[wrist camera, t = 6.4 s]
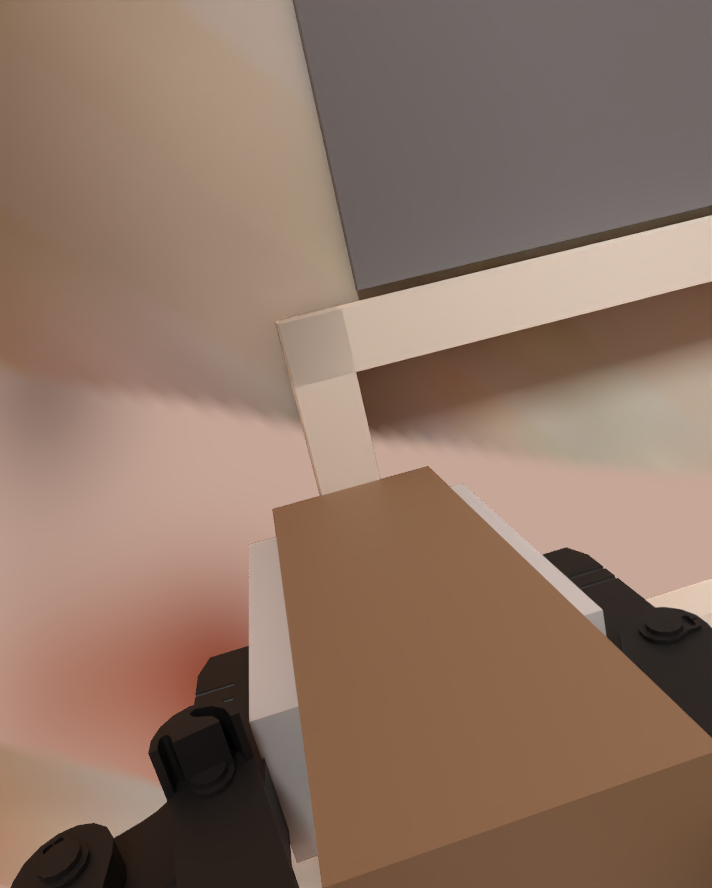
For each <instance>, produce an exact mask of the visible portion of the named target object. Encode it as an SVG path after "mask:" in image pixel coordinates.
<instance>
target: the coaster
mask: <svg viewBox="0 0 712 888" xmlns="http://www.w3.org/2000/svg"><path fill="white" fill-rule="evenodd" d="M293 4H294V9H295V13H296V18H297V22H298V27H299V31H300V36H301V41H302V45H303V50H304V54H305V59H306V63H307V68H308V72H309V77H310V82H311V86H312V91H313V95H314V100H315V104H316V109H317V113H318V118H319V123H320V127H321V132H322V136H323V141H324V145H325V150H326V154H327V159H328V164H329V168H330V173H331V177H332V182H333V186H334V191H335V196H336V200H337V205H338V209H339V214H340V218H341V223H342V227H343V232H344V237H345V241H346V246H347V250H348V255H349V259H350V264H351V268H352V273H353V278H354V282H355V287H356V290H362V289H366V288H371V287H375V286H379V285H383V284H387V283H391V282H396V281H400V280H404V279H408V278H412V277H416V276H420V275H425V274H429V273H433V272H437V271H441V270H445V269H450V268H454V267H458V266H462V265H466V264H470V263H475V262H479V261H483V260H487V259H491V258H495V257H499V256H504V255H508V254H512V253H516V252H520V251H524V250H529V249H533V248H537V247H541V246H545V245H549V244H554V243H558V242H562V241H566V240H570V239H574V238H578V237H583V236H587V235H591V234H595V233H599V232H603V231H608V230H612V229H616V228H620V227H624V226H628V225H633V224H637V223H641V222H645V221H649V220H653V219H657V218H662V217H666V216H670V215H674V214H678V213H682V212H687V211H691V210H695V209H699V208H703V207H707V206H711V205H712V0H293Z"/></svg>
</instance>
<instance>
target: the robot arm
mask: <svg viewBox="0 0 712 888" xmlns="http://www.w3.org/2000/svg"><path fill="white" fill-rule="evenodd" d="M450 488H451V489H452V490H454V491H455V492H456V493H457V494H458V495H459V496H460V497H461V498H462V499H463V500H464V501H465V502H466V503H467V504H468V505H469V506H470V507H471V508H472V509H473V510H474V511H475V512H476V513H478V514H479V515H480V516H481V517H482V518H483V519H484V520H485V521H486V522H487V523H488V524H489V525H490V526H491V527H492V528H493V529H494V530H495V531H496V532H497V533H498V534H499V535H501V536H502V537H503V538H504V539H505V540H506V541H507V542H508V543H509V544H510V545H511V546H512V547H513V548H514V549H515V550H516V551H517V552H518V553H519V554H520V555H521V556H522V557H523V558H525V559H526V560H527V561H528V562H529V563H530V564H531V565H532V566H533V567H534V568H535V569H536V570H537V571H538V572H539V573H540V574H541V575H542V576H543V577H544V578H545V579H546V580H547V581H549V582H550V583H551V584H552V585H553V586H554V587H555V588H556V589H557V590H558V591H559V592H560V593H561V594H562V595H563V596H564V597H565V598H566V599H567V600H568V601H569V602H570V603H571V604H573V605H574V606H575V607H576V608H577V609H578V610H579V611H580V612H581V613H582V614H583V615H584V616H585V617H586V618H587V619H588V620H589V621H590V622H591V623H592V624H593V625H594V626H595V627H597V628H598V629H599V630H600V631H601V632H602V633H603V634H604V635H605V636H606V637H607V638H608V639H609V640H610V641H611V642H612V643H613V644H614V645H615V646H616V647H617V648H618V649H619V650H621V651H622V652H623V653H624V654H625V655H626V656H627V657H628V658H629V659H630V660H631V661H632V662H633V663H634V664H635V665H636V666H637V667H638V668H639V669H640V670H641V671H642V672H643V673H645V674H646V675H647V676H648V677H649V678H650V679H651V680H652V681H653V682H654V683H655V684H656V685H657V686H658V687H659V688H660V689H661V690H662V691H663V692H664V693H665V694H666V695H668V696H669V697H670V698H671V699H672V700H673V701H674V702H675V703H676V704H677V705H678V706H679V707H680V708H681V709H682V710H683V711H684V712H685V713H686V714H687V715H688V716H689V717H690V718H692V719H693V720H694V721H695V722H696V723H697V724H698V725H699V726H700V727H701V728H702V729H703V730H704V731H705V732H706V733H707V734H708V735H709V736H710V737H711V738H712V628H711V627H710V625H709V624H708V623H707V622H705V621H704V620H703V619H701V618H700V617H699V616H697V615H695V614H693V613H690V612H687V611H685V610H682V609H676V608H668V607H654V606H653V605H652V604H650V603H649V602H648V601H646V600H645V599H644V598H643V597H641V596H640V595H639V594H637V593H636V592H635V591H634V590H632V589H631V588H630V587H629V586H627V585H626V584H625V583H623V582H622V581H621V580H620V579H618V578H617V579H616V578H615V576H614V575H613V574H612V573H611V572H609V571H608V570H607V569H603V566H602V565H600V564H599V563H598V562H596V561H595V560H594V559H593V558H591V557H590V556H589V555H587V554H584V553H581V552H578V551H575V550H572V549H569V548H563V549H560V550H557V551H553V552H550V553H546V554H543V555H542V554H541V553H539V552H538V551H537V550H536V549H535V548H534V547H533V546H532V545H531V544H530V543H528V542H527V541H526V540H525V539H524V538H523V537H522V536H521V535H520V534H518V533H517V532H516V531H515V530H514V529H513V528H512V527H511V526H510V525H509V524H507V523H506V522H505V521H504V520H503V519H502V518H501V517H500V516H499V515H497V514H496V513H495V512H494V511H493V510H492V509H491V508H490V507H489V506H487V505H486V504H485V503H484V502H483V501H482V500H481V499H480V498H479V497H478V496H477V495H475V494H474V493H473V492H472V491H471V490H470V489H469V488H467V486H465V485H464V484H463V483H461V484H457V485H454V486H450ZM148 754H149V756H150V759H151V761H152V764H153V766H154V768H155V771H156V774H157V776H158V779H159V781H160V784H161V786H162V789H163V791H164V794H165V796H166V799H167V803H165V804H164V805H163V806H162V807H161V808H160V809H159V810H158V811H157V812H155V813H154V814H153V815H151V816H150V817H148V818H147V819H145V820H144V821H142V822H141V823H139V824H137V825H136V826H134V827H132V828H131V829H129V830H127V831H126V832H124V833H122V834H120V835H119V836H117V837H115V838H113V836H112V835H111V833H110V831H109V830H108V828H107V827H105V826H102V825H99V824H95V823H92V824H84V825H78V826H75V827H73V828H71V829H68V830H66V831H64V832H62V833H59V834H58V835H56V836H55V837H54V838H52V839H51V840H49V841H48V842H47V843H45V844H44V845H42V846H41V847H40V848H39V849H38V850H37V851H36V852H35V853H34V854H33V855H32V856H31V857H30V858H29V859H28V860H27V861H26V862H25V864H24V865H23V867H22V868H21V870H20V872H19V873H18V875H17V876H16V878H15V880H14V881H13V883H12V886H11V888H299V886H298V883H297V880H296V877H295V874H294V871H293V868H292V862H291V849H290V844H291V847H292V850H293V853H294V856H295V859H296V861H297V862H300V861H303V860H306V859H309V858H312V857H315V856H318V851H317V843H316V835H315V828H314V820H313V813H312V805H311V797H310V790H309V782H308V775H307V767H306V759H305V752H304V744H303V737H302V729H301V722H300V714H299V706H298V699H297V691H296V684H295V676H294V668H293V661H292V653H291V646H290V638H289V631H288V623H287V615H286V608H285V600H284V593H283V585H282V577H281V570H280V562H279V555H278V547H277V539H276V537H273V538H269V539H266V540H262V541H259V542H255V543H252V544H249V646H247V647H244V648H240V649H237V650H234V651H230V652H227V653H224V654H220V655H218V656H214V657H211V658H210V659H209V660H208V662H207V663H206V665H205V666H204V668H203V669H202V671H201V672H200V674H199V676H198V680H197V688H196V698H195V703H194V705H193V706H190V707H188V708H186V709H184V710H183V711H181V712H179V713H177V714H176V715H174V716H172V717H171V718H170V719H169V720H168V721H167V722H166V723H164V724H163V725H162V726H161V727H160V728H159V730H158V731H157V733H156V734H155V736H154V737H153V739H152V740H151V743H150V748H149V753H148Z"/></svg>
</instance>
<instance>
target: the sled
mask: <svg viewBox="0 0 712 888" xmlns="http://www.w3.org/2000/svg"><path fill="white" fill-rule="evenodd" d="M711 281H712V215H710V216H706V217H702V218H698V219H694V220H690V221H686V222H681V223H677V224H673V225H669V226H665V227H661V228H657V229H653V230H648V231H644V232H640V233H636V234H632V235H628V236H624V237H620V238H616V239H611V240H607V241H603V242H599V243H595V244H591V245H587V246H583V247H578V248H574V249H570V250H566V251H562V252H558V253H554V254H550V255H545V256H541V257H537V258H533V259H529V260H525V261H521V262H517V263H512V264H508V265H504V266H500V267H496V268H492V269H488V270H484V271H479V272H475V273H471V274H467V275H463V276H459V277H455V278H451V279H446V280H442V281H438V282H434V283H430V284H426V285H422V286H418V287H413V288H409V289H405V290H401V291H397V292H393V293H389V294H385V295H380V296H376V297H372V298H368V299H364V300H360V301H356V302H352V303H347V304H343V305H339V306H335V307H331V308H327V309H323V310H319V311H314V312H310V313H306V314H302V315H298V316H294V317H290V318H286V319H281V320H277V321H275V324H276V328H277V331H278V335H279V339H280V343H281V347H282V351H283V355H284V359H285V362H286V366H287V370H288V374H289V378H290V382H291V386H292V389H293V393H294V397H295V401H296V405H297V409H298V413H299V417H300V420H301V424H302V428H303V432H304V436H305V440H306V444H307V447H308V451H309V455H310V459H311V463H312V467H313V471H314V475H315V478H316V482H317V486H318V490H319V493H320V496H319V497H315V498H311V499H307V500H304V501H300V502H296V503H293V504H290V505H286V506H282V507H279V508H275V509H273V516H274V524H275V532H276V539H277V547H278V555H279V562H280V570H281V577H282V585H283V593H284V600H285V608H286V615H287V623H288V631H289V638H290V646H291V653H292V661H293V668H294V676H295V684H296V691H297V699H298V706H299V714H300V722H301V729H302V737H303V744H304V752H305V759H306V767H307V775H308V782H309V790H310V797H311V805H312V813H313V820H314V828H315V835H316V843H317V851H318V858H319V866H320V873H321V881H322V888H712V738H711V737H710V736H709V735H708V734H707V733H706V732H705V731H704V730H703V729H702V728H701V727H700V726H699V725H698V724H697V723H696V722H695V721H694V720H693V719H692V718H690V717H689V716H688V715H687V714H686V713H685V712H684V711H683V710H682V709H681V708H680V707H679V706H678V705H677V704H676V703H675V702H674V701H673V700H672V699H671V698H670V697H669V696H668V695H666V694H665V693H664V692H663V691H662V690H661V689H660V688H659V687H658V686H657V685H656V684H655V683H654V682H653V681H652V680H651V679H650V678H649V677H648V676H647V675H646V674H645V673H643V672H642V671H641V670H640V669H639V668H638V667H637V666H636V665H635V664H634V663H633V662H632V661H631V660H630V659H629V658H628V657H627V656H626V655H625V654H624V653H623V652H622V651H621V650H619V649H618V648H617V647H616V646H615V645H614V644H613V643H612V642H611V641H610V640H609V639H608V638H607V637H606V636H605V635H604V634H603V633H602V632H601V631H600V630H599V629H598V628H597V627H595V626H594V625H593V624H592V623H591V622H590V621H589V620H588V619H587V618H586V617H585V616H584V615H583V614H582V613H581V612H580V611H579V610H578V609H577V608H576V607H575V606H574V605H573V604H571V603H570V602H569V601H568V600H567V599H566V598H565V597H564V596H563V595H562V594H561V593H560V592H559V591H558V590H557V589H556V588H555V587H554V586H553V585H552V584H551V583H550V582H549V581H547V580H546V579H545V578H544V577H543V576H542V575H541V574H540V573H539V572H538V571H537V570H536V569H535V568H534V567H533V566H532V565H531V564H530V563H529V562H528V561H527V560H526V559H525V558H523V557H522V556H521V555H520V554H519V553H518V552H517V551H516V550H515V549H514V548H513V547H512V546H511V545H510V544H509V543H508V542H507V541H506V540H505V539H504V538H503V537H502V536H501V535H499V534H498V533H497V532H496V531H495V530H494V529H493V528H492V527H491V526H490V525H489V524H488V523H487V522H486V521H485V520H484V519H483V518H482V517H481V516H480V515H479V514H478V513H476V512H475V511H474V510H473V509H472V508H471V507H470V506H469V505H468V504H467V503H466V502H465V501H464V500H463V499H462V498H461V497H460V496H459V495H458V494H457V493H456V492H455V491H454V490H452V489H451V488H450V487H449V486H448V485H447V484H446V483H445V482H444V481H443V480H442V479H441V478H440V477H439V476H438V475H437V474H436V473H435V472H434V471H433V470H432V469H430V468H429V467H428V466H427V467H423V468H420V469H416V470H412V471H408V472H405V473H401V474H398V475H394V476H390V477H387V478H383V479H380V476H379V471H378V467H377V462H376V458H375V453H374V449H373V445H372V440H371V436H370V431H369V427H368V423H367V418H366V414H365V409H364V405H363V401H362V396H361V392H360V387H359V383H358V379H357V374H356V372H358V371H362V370H366V369H370V368H374V367H378V366H382V365H386V364H390V363H394V362H398V361H401V360H405V359H409V358H413V357H417V356H421V355H425V354H429V353H433V352H437V351H441V350H444V349H448V348H452V347H456V346H460V345H464V344H468V343H472V342H476V341H480V340H484V339H488V338H491V337H495V336H499V335H503V334H507V333H511V332H515V331H519V330H523V329H527V328H531V327H534V326H538V325H542V324H546V323H550V322H554V321H558V320H562V319H566V318H570V317H574V316H578V315H581V314H585V313H589V312H593V311H597V310H601V309H605V308H609V307H613V306H617V305H621V304H625V303H628V302H632V301H636V300H640V299H644V298H648V297H652V296H656V295H660V294H664V293H668V292H671V291H675V290H679V289H683V288H687V287H691V286H695V285H699V284H703V283H707V282H711ZM645 600H646V601H648V602H649V603H650V604H652V605H653V606H654V607H668V608H676V609H682V610H685V611H687V612H690V613H693V614H695V615H697V616H699V617H700V618H701V619H703V620H704V621H705V622H707V623H708V624H709V625H710V627H711V628H712V578H711V579H708V580H705V581H701V582H698V583H696V584H692V585H689V586H686V587H683V588H679V589H676V590H673V591H670V592H667V593H663V594H660V595H657V596H654V597H651V598H647V599H645Z"/></svg>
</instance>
